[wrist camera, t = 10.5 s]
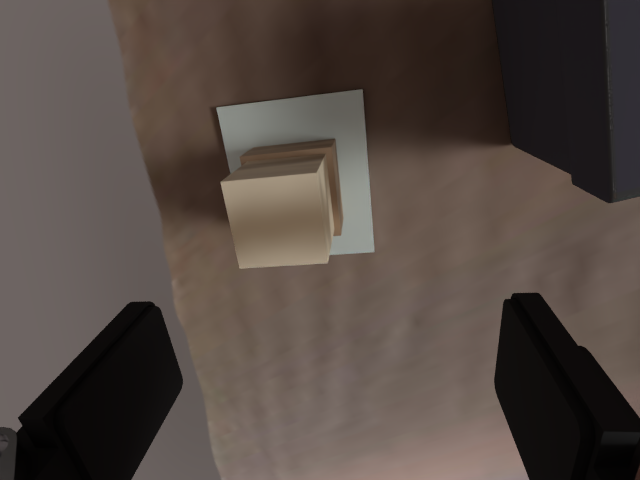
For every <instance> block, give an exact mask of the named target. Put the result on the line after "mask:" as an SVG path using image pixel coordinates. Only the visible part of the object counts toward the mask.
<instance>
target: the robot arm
mask: <svg viewBox="0 0 640 480" xmlns="http://www.w3.org/2000/svg"><path fill="white" fill-rule="evenodd" d="M182 384H183V379H182V374H181V371H180V368H179V365H178V362H177V359H176V356H175V353H174V349H173V346H172V343H171V340H170V337H169V334H168V331H167V328H166V325H165V322H164V318H163V315H162V312H161V310H160V308H159V307H157V306H155V304H154V303H153V302H130V303H129V304H127V305H126V307H124V309H123V310H122V311H121V312H120V313H119V314H118V315H117V316H116V317H115V318H114V319H113V320H112V321H111V322H110V323H109V324H108V325H107V326H106V327H105V328H104V330H102V331H101V332H100V333H99V334H98V336H97V337H95V339H94V340H93V341H92V342H91V343H90V344H89V345H88V346H87V347H86V348H85V349H84V350H83V351H82V352H81V353H80V354H79V355H78V356H77V357H76V358H75V359H74V360H73V361H72V362H71V363H70V365H68V367H67V368H66V369H65V370H64V371H63V372H62V373H61V374H60V375H59V376H58V377H57V378H56V379H55V380H54V381H53V382H52V383H51V384H50V385H49V386H48V387H47V388H46V389H45V390H44V391H43V392H42V394H40V396H39V397H38V398H37V399H36V400H35V401H34V402H33V403H32V404H31V405H30V406H29V407H28V408H27V409H26V410H25V411H24V412H23V413H22V414H21V415H20V416H19V417H18V419H19V420H20V422H21V424H22V427H21V428H20V429H19V430H18V432H17V433H16V432H15V431H14V430H12V429H11V428H6V427H0V480H131V479H132V477H133V476H134V474H135V472H136V470H137V468H138V466H139V465H140V463H141V461H142V459H143V458H144V456H145V454H146V452H147V450H148V449H149V447H150V445H151V443H152V441H153V439H154V438H155V436H156V434H157V432H158V430H159V429H160V427H161V425H162V423H163V422H164V420H165V418H166V416H167V414H168V413H169V411H170V409H171V407H172V405H173V404H174V402H175V400H176V398H177V396H178V395H179V393H180V391H181V389H182ZM494 384H495V390H496V394H497V397H498V399H499V402H500V405H501V407H502V410H503V412H504V415H505V417H506V420H507V423H508V425H509V428H510V430H511V433H512V436H513V438H514V441H515V443H516V446H517V449H518V451H519V454H520V456H521V459H522V461H523V464H524V467H525V469H526V472H527V474H528V477H529V480H640V418H639V416H638V415H637V414H636V413H635V411H634V410H633V409H632V407H631V406H630V405H629V403H628V402H627V401H626V399H625V398H624V397H623V395H622V394H621V393H620V391H619V390H618V389H617V387H616V386H615V385H614V383H613V382H612V381H611V379H610V378H609V377H608V376H607V374H606V373H605V372H604V370H603V369H602V368H601V366H600V365H599V364H598V362H597V361H596V360H595V358H594V357H593V356H592V354H591V353H590V352H589V351H588V350H587V349H586V348H585V347H582V346H578V345H577V344H576V342H575V341H574V340H573V338H572V337H571V336H570V334H569V333H568V332H567V330H566V329H565V327H564V326H563V325H562V323H561V322H560V321H559V319H558V318H557V317H556V315H555V314H554V312H553V311H552V310H551V308H550V307H549V306H548V304H547V303H546V302H545V300H544V299H543V297H542V296H541V295H540V294H539V293H514V294H512V296H511V299H505V300H504V303H503V310H502V319H501V327H500V336H499V344H498V353H497V361H496V370H495V378H494Z"/></svg>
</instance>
